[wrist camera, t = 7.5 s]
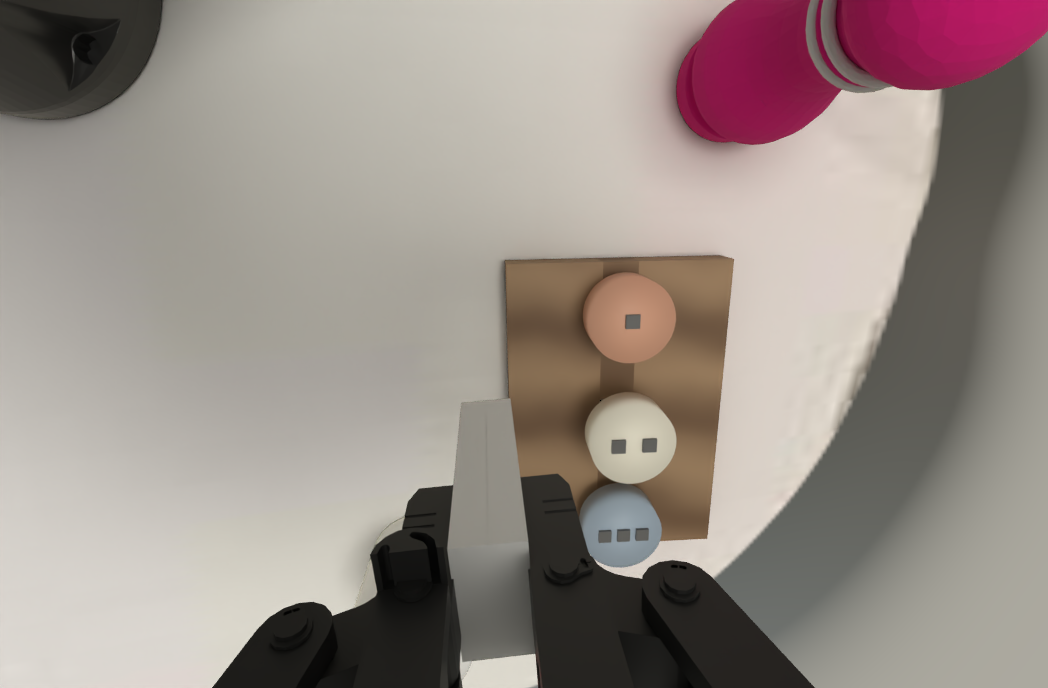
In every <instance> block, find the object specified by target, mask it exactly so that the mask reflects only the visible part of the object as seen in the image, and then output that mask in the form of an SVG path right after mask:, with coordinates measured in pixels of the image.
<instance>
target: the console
mask: <svg viewBox="0 0 1048 688" xmlns="http://www.w3.org/2000/svg"><path fill="white" fill-rule="evenodd" d="M733 264H734V259H732V258H728V257H724V256H721V255H715V256H670V257H625V258H580V259H535V260H505V274H506V315H507V355H508V395H509V398H510V399H511V407H512V415H513V423H514V431H515V439H516V447H517V455H518V463H519V471H520V477H528V476H538V475H548V474H559V475H560V476H561V477H562V478H563V479H564V480H565V481H567V482H568V483H569V485H570V488H571V492H572V495H573V500H574V502H575V506H576V511H577V513H578V517H579V516H580V510H581V507H582V505H583V503H584V501H585V500H586V499H587V497H588V496H589V495H590V494H591V493H593V492H594V491H595V490H597V489H598V488H600V487H603V486H605V485H608V484H614V483H619V482H616V481H613V480H611V479H609V478H607V477H606V476H605V475H603V474H602V473H601V472H600V471H599V470H598V468H597V467H596V465H595V463H594V461H593V459H592V456H591V454H590V451H589V448H588V446H587V443H586V439H585V426H586V422H587V419H588V417H589V415H590V413H591V411H592V410H593V409H594V408H595V406H596V405H597V404H599V403H600V399H605V398H607V397H609V396H611V395H614V394H617V393H623V392H634V393H639V394H642V395H645V396H647V397H649V398H650V399H652V400H653V401H654V402H655V403H656V404H657V405H658V406H659V407H660V409H661V410H662V411H663V412H664V414H665V415H666V416H667V417H668V419H669V420H670V422H671V423H672V425H673V427H674V429H675V433H676V449H675V453H674V455H673V458H672V459H671V461H670V463H669V464H668V465H667V467H666V468H665V469H664V470H663V471H662V472H661V473H659V474H658V475H657V476H655V477H654V478H652V479H649V480H647V481H644V482H641V483H634V484H629V485H633V486H635V487H637V488H639V489H640V490H642V491H643V492H644V493H645V494H646V495H647V497H648V498H649V500H650V502H651V504H652V506H653V508H654V510H655V512H656V514H657V516H658V518H659V520H660V522H661V527H662V534H661V539H660V541H669V540H688V539H707V535H708V525H709V514H710V504H711V494H712V483H713V473H714V462H715V452H716V441H717V431H718V421H719V410H720V400H721V389H722V379H723V368H724V358H725V347H726V337H727V327H728V316H729V306H730V295H731V285H732V274H733ZM622 272H631V273H637V274H640V275H642V276H644V277H646V278H648V279H650V280H652V281H654V282H656V283H657V284H659V285H660V286H662V287H663V288H664V289H665V290H666V291H667V292H668V294H669V295H670V297H671V299H672V301H673V303H674V306H675V311H676V323H675V328H674V332H673V334H672V337H671V338H670V340H669V342H668V343H667V345H666V346H665V347H664V348H663V349H662V350H661V351H660V352H659V353H658V354H656V355H655V356H653V357H652V358H650V359H648V360H645V361H642V362H638V363H620V362H617V361H614V360H611V359H609V358H608V357H606V356H605V355H603V354H602V353H601V352H600V351H599V350H598V349H597V347H596V346H595V345H594V343H593V342H592V340H591V339H590V337H589V336H588V334H587V332H586V330H585V327H584V323H583V308H584V304H585V301H586V298H587V296H588V294H589V293H590V291H591V290H592V289H593V287H594V286H595V285H596V284H597V283H599V282H600V281H601V280H603V279H604V278H606V277H608V276H610V275H613V274H616V273H622ZM624 484H625V483H624Z"/></svg>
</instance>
